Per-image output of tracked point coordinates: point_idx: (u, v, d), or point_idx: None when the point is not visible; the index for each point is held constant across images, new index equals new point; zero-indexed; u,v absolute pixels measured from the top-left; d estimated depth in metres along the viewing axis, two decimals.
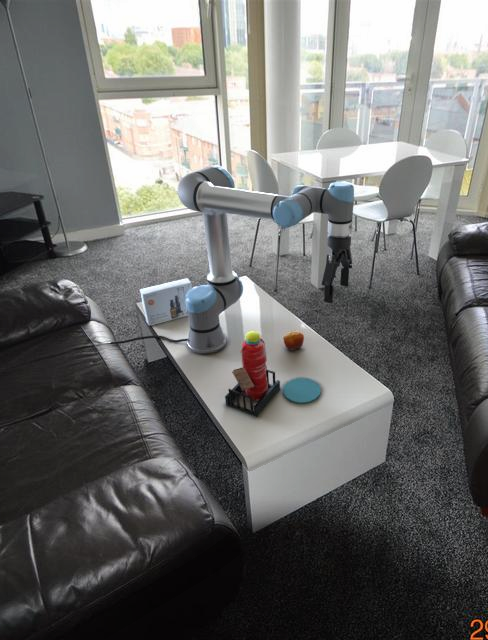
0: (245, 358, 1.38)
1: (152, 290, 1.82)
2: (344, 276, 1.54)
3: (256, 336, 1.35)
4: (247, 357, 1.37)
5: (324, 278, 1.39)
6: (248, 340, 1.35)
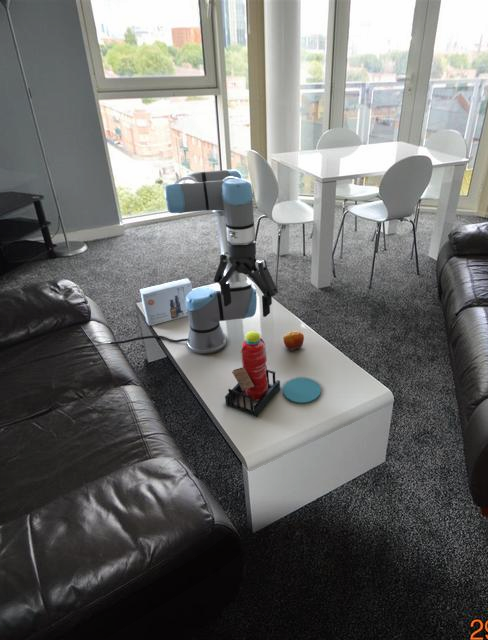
0: (245, 358, 1.38)
1: (152, 290, 1.82)
2: None
3: (256, 336, 1.35)
4: (247, 357, 1.37)
5: None
6: (248, 340, 1.35)
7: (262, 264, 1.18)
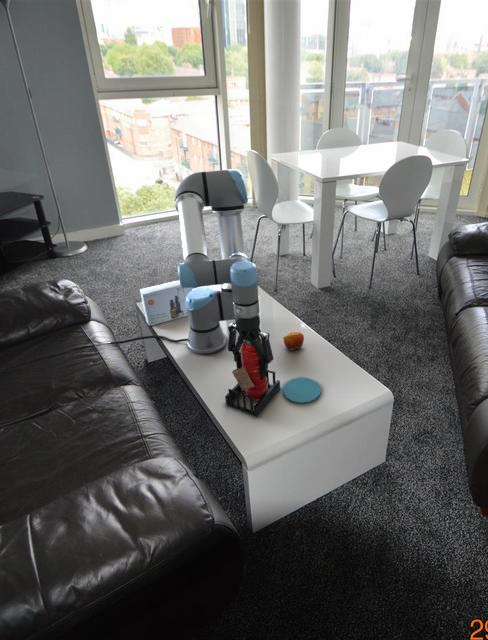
0: (245, 358, 1.38)
1: (152, 290, 1.82)
2: None
3: None
4: (247, 357, 1.37)
5: None
6: None
7: (266, 338, 1.31)
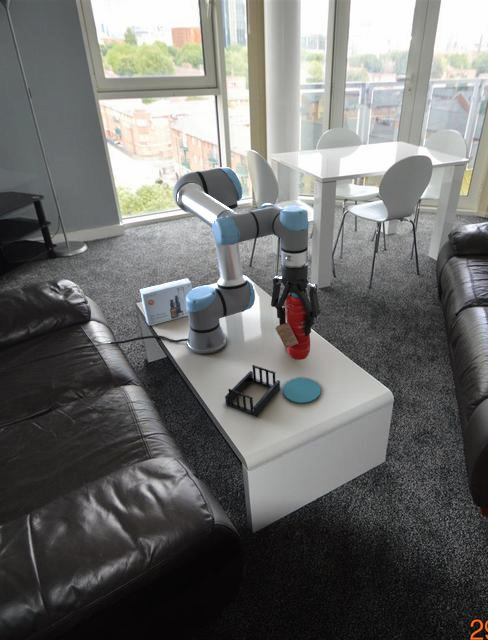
0: (290, 312, 1.32)
1: (152, 290, 1.82)
2: None
3: None
4: (292, 311, 1.31)
5: None
6: (293, 293, 1.29)
7: (314, 289, 1.25)
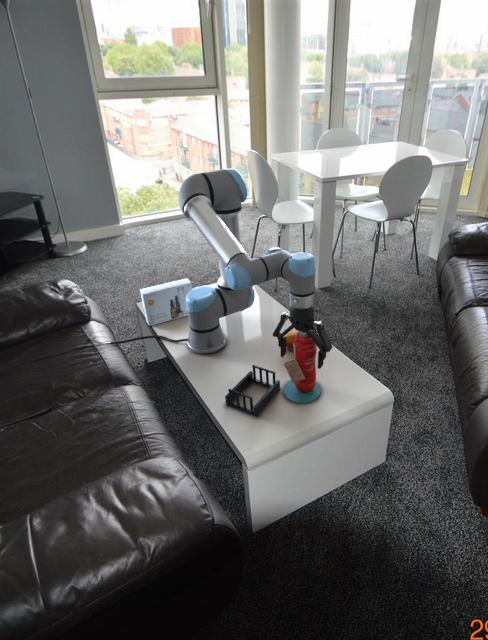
0: (297, 350, 1.40)
1: (152, 290, 1.82)
2: None
3: None
4: (300, 349, 1.39)
5: None
6: (301, 332, 1.37)
7: (320, 325, 1.32)
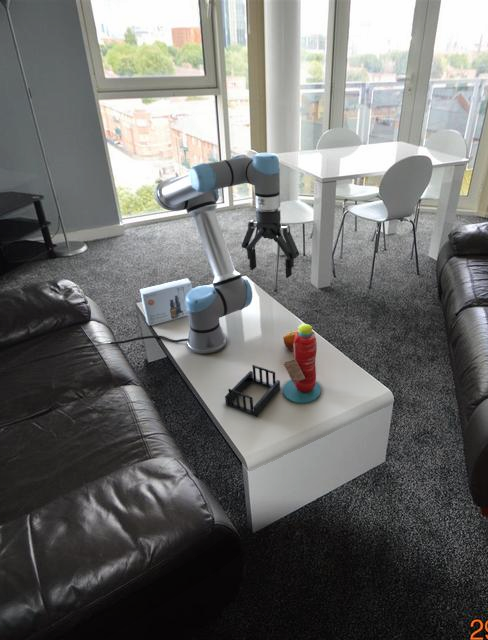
0: (297, 350, 1.40)
1: (152, 290, 1.82)
2: None
3: (309, 329, 1.37)
4: (300, 349, 1.39)
5: None
6: (301, 332, 1.37)
7: (286, 229, 1.33)
